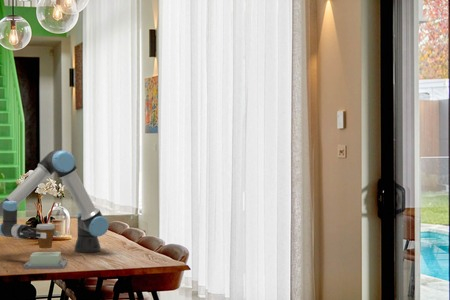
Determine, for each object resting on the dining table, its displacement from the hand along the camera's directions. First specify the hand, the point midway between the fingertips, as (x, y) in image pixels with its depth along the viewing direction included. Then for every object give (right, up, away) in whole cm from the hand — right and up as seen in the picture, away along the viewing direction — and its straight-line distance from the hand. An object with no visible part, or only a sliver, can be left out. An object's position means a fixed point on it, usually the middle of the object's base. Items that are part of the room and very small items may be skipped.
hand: (52, 234), depth 398 cm
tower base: (-4, -16, +3) cm, 17 cm away
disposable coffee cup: (-4, -7, +3) cm, 9 cm away
